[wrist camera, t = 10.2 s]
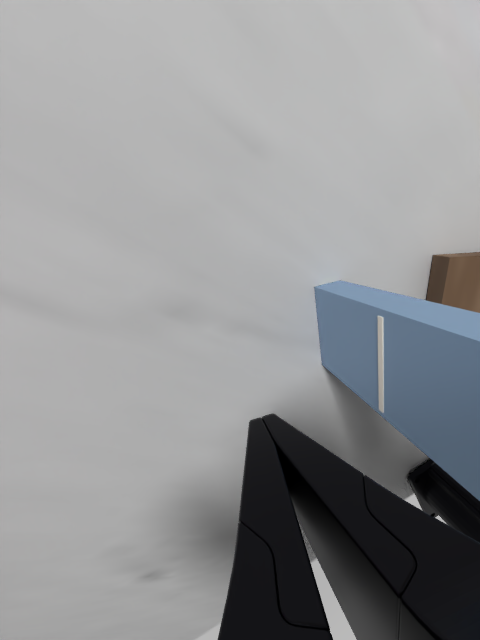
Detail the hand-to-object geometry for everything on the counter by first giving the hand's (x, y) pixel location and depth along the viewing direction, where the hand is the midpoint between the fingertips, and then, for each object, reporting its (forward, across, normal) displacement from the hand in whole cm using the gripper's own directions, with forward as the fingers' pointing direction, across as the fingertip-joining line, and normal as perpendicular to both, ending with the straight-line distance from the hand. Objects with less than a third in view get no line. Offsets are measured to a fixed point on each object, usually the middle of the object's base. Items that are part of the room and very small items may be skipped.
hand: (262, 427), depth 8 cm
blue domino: (+6, -6, 0) cm, 9 cm away
